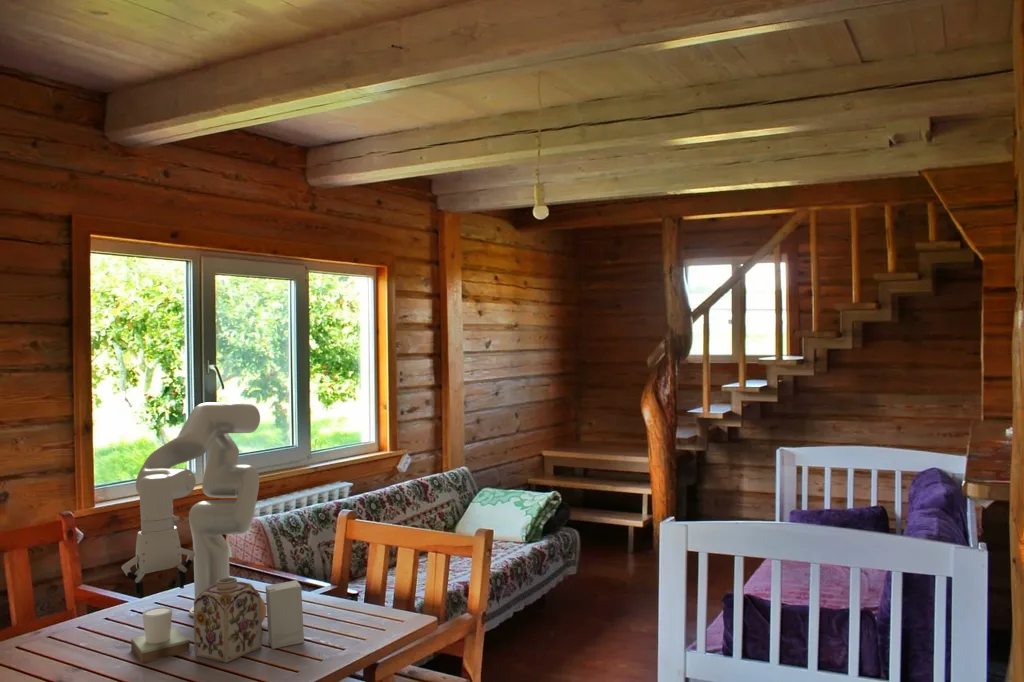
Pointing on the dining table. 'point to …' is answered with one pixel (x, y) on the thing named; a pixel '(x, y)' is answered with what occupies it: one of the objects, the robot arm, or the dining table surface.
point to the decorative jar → (227, 620)
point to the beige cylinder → (157, 624)
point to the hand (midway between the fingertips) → (160, 591)
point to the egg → (263, 610)
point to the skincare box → (284, 614)
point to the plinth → (160, 647)
